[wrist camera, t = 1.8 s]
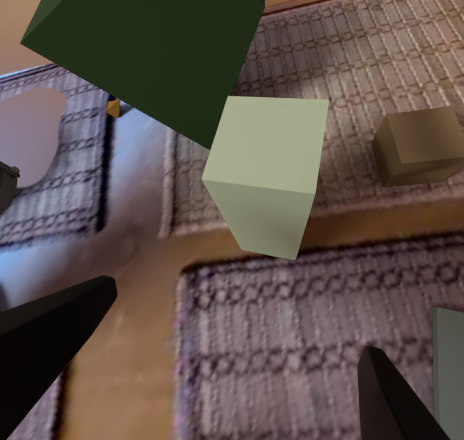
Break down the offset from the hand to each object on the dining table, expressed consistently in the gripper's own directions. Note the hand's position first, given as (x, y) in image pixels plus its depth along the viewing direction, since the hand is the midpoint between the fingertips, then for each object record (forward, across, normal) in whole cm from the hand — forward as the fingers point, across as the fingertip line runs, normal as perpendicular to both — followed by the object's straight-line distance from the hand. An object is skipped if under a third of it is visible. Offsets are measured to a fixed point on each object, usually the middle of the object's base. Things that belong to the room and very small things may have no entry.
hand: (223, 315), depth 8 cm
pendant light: (+26, +12, -6) cm, 29 cm away
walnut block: (+22, -11, -2) cm, 24 cm away
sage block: (+15, 0, +4) cm, 15 cm away
